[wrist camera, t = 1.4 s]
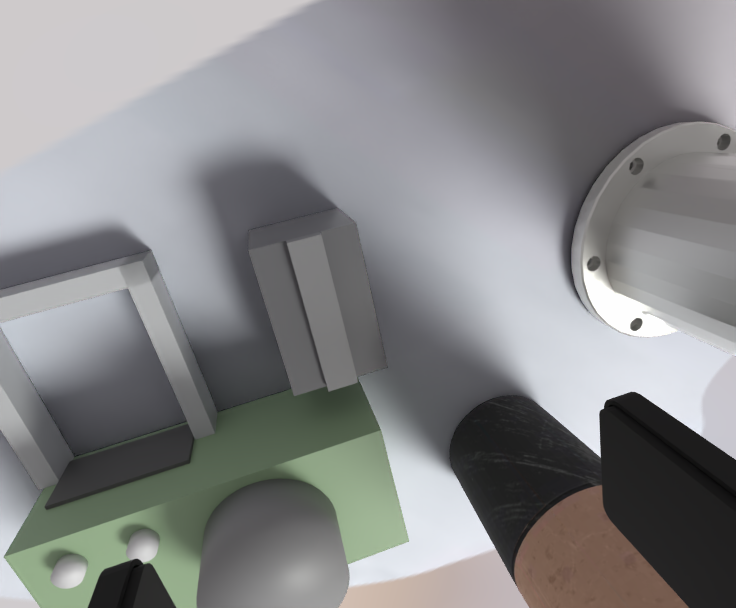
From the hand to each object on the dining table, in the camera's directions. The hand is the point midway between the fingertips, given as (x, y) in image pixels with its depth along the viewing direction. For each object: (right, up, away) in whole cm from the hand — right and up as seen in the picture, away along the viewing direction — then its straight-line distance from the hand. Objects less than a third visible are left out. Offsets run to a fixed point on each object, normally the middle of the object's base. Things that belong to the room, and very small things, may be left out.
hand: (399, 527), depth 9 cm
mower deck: (-9, 0, +16) cm, 18 cm away
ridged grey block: (-4, +6, +15) cm, 16 cm away
